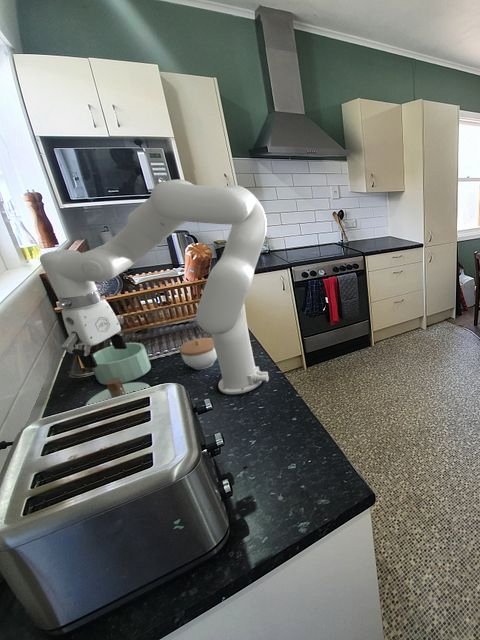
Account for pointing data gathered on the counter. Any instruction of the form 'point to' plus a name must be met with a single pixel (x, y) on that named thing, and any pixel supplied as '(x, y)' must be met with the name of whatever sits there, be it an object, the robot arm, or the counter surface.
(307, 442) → the counter surface
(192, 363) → the trinket box
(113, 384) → the bowl lid
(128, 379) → the bowl
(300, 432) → the counter surface
